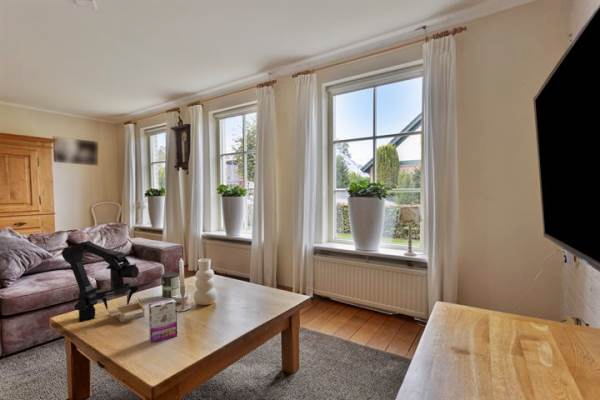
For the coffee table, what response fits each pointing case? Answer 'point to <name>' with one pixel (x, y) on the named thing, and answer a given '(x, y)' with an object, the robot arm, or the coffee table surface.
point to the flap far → (140, 301)
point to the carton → (128, 312)
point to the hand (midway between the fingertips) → (117, 306)
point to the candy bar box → (162, 320)
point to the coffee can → (170, 285)
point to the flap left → (126, 302)
